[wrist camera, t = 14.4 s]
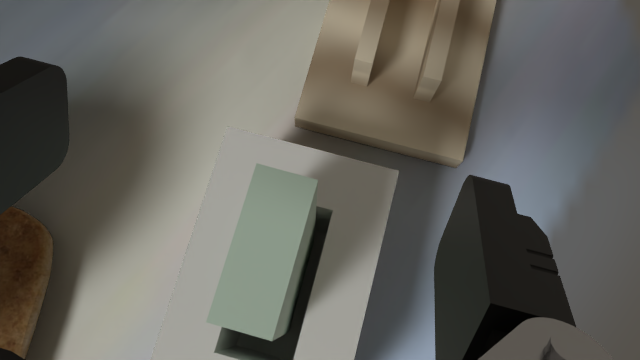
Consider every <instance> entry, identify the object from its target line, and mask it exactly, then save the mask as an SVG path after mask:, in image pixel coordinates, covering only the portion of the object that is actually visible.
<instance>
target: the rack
mask: <svg viewBox="0 0 640 360" xmlns="http://www.w3.org/2000/svg"><path fill="white" fill-rule="evenodd" d="M495 5H496V0H329V4H328V7H327V10H326V14H325V17H324V20H323V24H322V27H321V31H320V34H319V37H318V41H317V44H316V47H315V51H314V54H313V57H312V61H311V64H310V68H309V71H308V74H307V78H306V81H305V84H304V88H303V91H302V94H301V98H300V101H299V105H298V108H297V111H296V115H295V126H296V127H300V128H303V129H307V130H311V131H315V132H319V133H323V134H326V135H330V136H334V137H338V138H342V139H346V140H350V141H353V142H357V143H361V144H365V145H369V146H373V147H377V148H380V149H384V150H388V151H392V152H396V153H400V154H403V155H407V156H411V157H415V158H419V159H423V160H427V161H430V162H434V163H438V164H442V165H446V166H450V167H454V168H457V167H458V166H459V165H460V163H461V162H462V161H463V158H464V153H465V148H466V143H467V139H468V134H469V129H470V124H471V120H472V115H473V110H474V105H475V101H476V96H477V91H478V86H479V81H480V77H481V72H482V67H483V62H484V58H485V53H486V48H487V43H488V39H489V34H490V29H491V24H492V20H493V15H494V10H495Z"/></svg>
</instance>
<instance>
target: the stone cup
mask: <svg viewBox="0 0 640 360" xmlns="http://www.w3.org/2000/svg"><path fill="white" fill-rule="evenodd" d="M52 259H53V239H52V237H51V235H50V233H49V231H48V230H47V228H46V227H45V226H44V225H43V224H42V223H41V222H40V221H38V220H37V219H35V218H34V217H32V216H31V215H29V214H27V213H26V212H24V211H22V210H20V209H17V208H14V207H12V206H11V207H9V208H8V209H7V210H6V211H4V212H3V213H2V214H1V215H0V348H3V349H6V350H10V351H12V352H14V353H15V354H17V355H18V356H20V357H22V358H23V359H25V357H26V354H27V351H28V348H29V345H30V342H31V340H32V337H33V333H34V330H35V327H36V324H37V320H38V317H39V314H40V310H41V307H42V303H43V300H44V297H45V293H46V290H47V286H48V283H49V278H50V273H51V266H52Z"/></svg>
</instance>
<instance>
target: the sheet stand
mask: <svg viewBox="0 0 640 360" xmlns="http://www.w3.org/2000/svg"><path fill="white" fill-rule="evenodd" d="M256 163H258V164H261V165H265V166H269V167H272V168H276V169H280V170H283V171H287V172H291V173H295V174H298V175H302V176H306V177H309V178H313V179H317V180H318V189H317V204H316V219H315V234H314V244H313V248H312V251H311V255H310V258H309V262H308V266H307V269H306V273H305V276H304V280H303V284H302V287H301V291H300V294H299V298H298V301H297V305H296V309H295V312H294V316H293V319H292V323H291V327H290V330H289V332H288V333H286V334H285V335H283V336H281V337H279V338H277V339H275V340H273V341H269V340H266V339H262V338H259V337H255V336H252V335H248V334H245V333H241V332H238V331H235V330H231V329H228V328H224V327H221V326H217V325H214V324H210V323H207V322H206V321H207V317H208V314H209V311H210V308H211V305H212V302H213V299H214V295H215V292H216V289H217V286H218V283H219V280H220V277H221V273H222V270H223V267H224V264H225V261H226V258H227V254H228V251H229V248H230V245H231V242H232V239H233V236H234V232H235V229H236V226H237V223H238V220H239V217H240V214H241V210H242V207H243V204H244V201H245V198H246V195H247V192H248V188H249V185H250V182H251V179H252V176H253V173H254V169H255V166H256ZM398 174H399V171H398V170H394V169H390V168H386V167H382V166H379V165H375V164H371V163H367V162H363V161H359V160H356V159H352V158H348V157H344V156H340V155H337V154H333V153H329V152H325V151H321V150H317V149H314V148H310V147H306V146H302V145H298V144H294V143H291V142H287V141H283V140H279V139H275V138H271V137H268V136H264V135H260V134H256V133H252V132H248V131H245V130H241V129H237V128H233V127H229V126H227V129H226V132H225V135H224V138H223V141H222V144H221V147H220V150H219V153H218V156H217V159H216V162H215V165H214V168H213V171H212V174H211V177H210V180H209V183H208V186H207V189H206V192H205V196H204V199H203V202H202V205H201V208H200V211H199V214H198V217H197V220H196V223H195V226H194V229H193V232H192V235H191V238H190V241H189V244H188V247H187V250H186V253H185V256H184V259H183V262H182V265H181V268H180V271H179V275H178V278H177V281H176V284H175V287H174V290H173V293H172V296H171V299H170V302H169V305H168V308H167V311H166V314H165V317H164V320H163V323H162V326H161V329H160V332H159V335H158V338H157V341H156V344H155V347H154V350H153V354H152V357H151V360H354V358H355V354H356V350H357V345H358V341H359V337H360V333H361V329H362V324H363V320H364V316H365V312H366V308H367V304H368V299H369V295H370V291H371V287H372V283H373V278H374V274H375V270H376V266H377V262H378V258H379V253H380V249H381V245H382V241H383V237H384V233H385V228H386V224H387V220H388V216H389V212H390V207H391V203H392V199H393V195H394V191H395V187H396V182H397V178H398Z"/></svg>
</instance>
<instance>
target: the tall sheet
mask: <svg viewBox="0 0 640 360" xmlns="http://www.w3.org/2000/svg"><path fill="white" fill-rule="evenodd" d="M317 189H318V180H317V179H313V178H309V177H306V176H302V175H298V174H295V173H291V172H287V171H283V170H280V169H276V168H272V167H269V166H265V165H261V164H258V163H256V166H255V169H254V173H253V176H252V179H251V182H250V185H249V188H248V192H247V195H246V198H245V201H244V204H243V207H242V210H241V214H240V217H239V220H238V223H237V226H236V229H235V232H234V236H233V239H232V242H231V245H230V248H229V251H228V254H227V258H226V261H225V264H224V267H223V270H222V273H221V277H220V280H219V283H218V286H217V289H216V292H215V295H214V299H213V302H212V305H211V308H210V311H209V314H208V317H207V321H206V322H207V323H210V324H214V325H217V326H221V327H224V328H228V329H231V330H235V331H238V332H241V333H245V334H248V335H252V336H255V337H259V338H262V339H266V340H269V341H273V340H275V339H277V338H279V337H281V336H283V335H285V334H286V333H288V332H289V330H290V327H291V323H292V319H293V316H294V312H295V309H296V305H297V301H298V298H299V294H300V291H301V287H302V284H303V280H304V276H305V273H306V269H307V266H308V262H309V258H310V255H311V251H312V248H313V244H314V234H315V219H316V204H317Z"/></svg>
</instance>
